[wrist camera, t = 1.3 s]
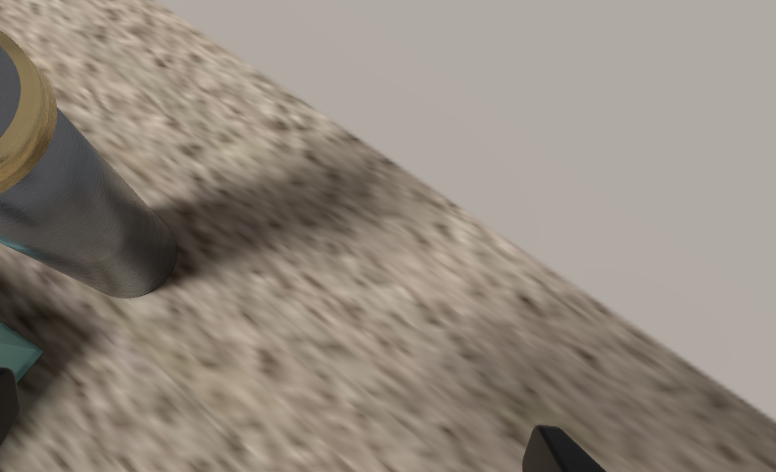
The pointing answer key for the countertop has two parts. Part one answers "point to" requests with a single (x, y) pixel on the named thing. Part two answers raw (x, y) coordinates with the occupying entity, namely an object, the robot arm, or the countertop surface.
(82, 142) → the metal canister
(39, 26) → the countertop surface
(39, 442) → the countertop surface
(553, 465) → the robot arm
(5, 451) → the countertop surface
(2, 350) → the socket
